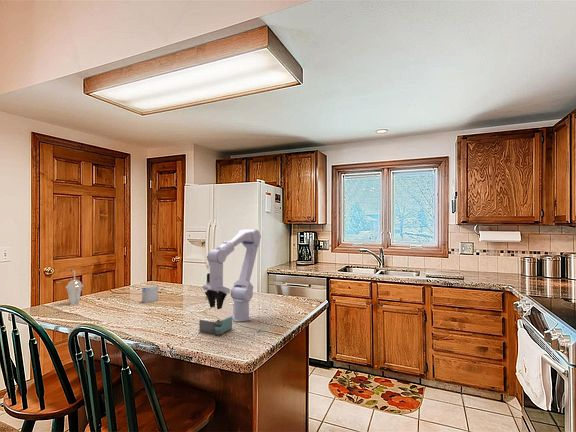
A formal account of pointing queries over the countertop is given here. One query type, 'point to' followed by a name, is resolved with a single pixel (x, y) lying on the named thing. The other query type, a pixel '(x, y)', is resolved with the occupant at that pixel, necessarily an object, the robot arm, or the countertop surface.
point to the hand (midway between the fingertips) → (215, 308)
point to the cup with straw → (74, 290)
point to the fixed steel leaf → (210, 327)
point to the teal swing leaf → (225, 325)
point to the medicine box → (149, 294)
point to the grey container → (208, 282)
